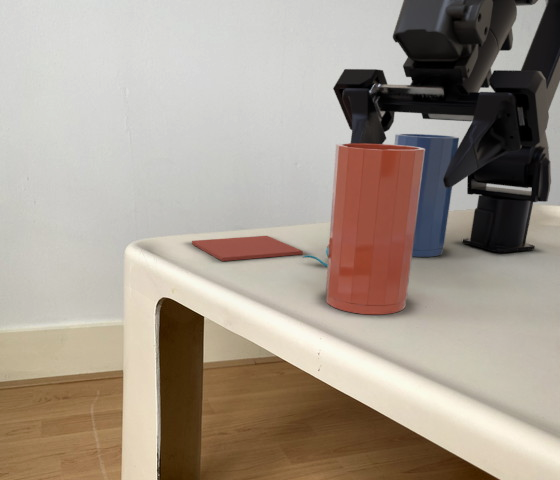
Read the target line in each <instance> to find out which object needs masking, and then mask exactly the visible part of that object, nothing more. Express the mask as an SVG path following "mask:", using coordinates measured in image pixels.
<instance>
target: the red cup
mask: <svg viewBox="0 0 560 480" xmlns="http://www.w3.org/2000/svg"><path fill="white" fill-rule="evenodd" d="M334 152H335V153H334V169H333V180H332V181H333V182H332V183H333V184H332V198H331V213H330V227H329V241H328V242H329V243H328V245H329V253H328V257H327V265H328V267H326V269H327V270H326V283H325V286H326V287H325V292H326V293H325V294H326V295H325V301H326V303H327V304H328V305H329V306H331V307H332V308H335V309H337V310H340V311H344V312H347V313H353V314H360V315H373V316H375V315H387V314H388V315H389V314H394V313H398V312H401V311H403V310H404V309H405V308H406V305H407V297H408V293H409V283H410V276H411V268H412V260H413V257H412V253H413V245H414V237H415V229H416V221H417V213H418V204H419V196H420V188H421V180H422V172H423V164H424V156H425V149H424V148H420V147H413V146H403V145H394V144H391V143H390V144H388V143H383V144H369V143H351V142H349V143H348V142H347V143H345V142H344V143H337V144H335V151H334Z"/></svg>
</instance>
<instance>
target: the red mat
mask: <svg viewBox="0 0 560 480" xmlns="http://www.w3.org/2000/svg"><path fill="white" fill-rule="evenodd" d="M191 245H193V246H195V247H197V248H198V249H200V250H201V251H203V252H205V253H207V254H208V255H210V256H213V257H214V258H216V259H218V261H221V262H229V261H240V260H241V261H242V260H253V259H264V258H278V257H288V256H300V255H303V254H304V251H303V250H301V249H299V248H297V247H295V246H292V245H290V244H287V243H285V242H283V241H280V240H278V239H276V238H274V237H271V236H269V235H257V236H242V237H241V236H240V237H228V238H227V237H226V238H213V239H212V238H211V239H197V240H191Z"/></svg>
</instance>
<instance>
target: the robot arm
mask: <svg viewBox="0 0 560 480" xmlns="http://www.w3.org/2000/svg"><path fill="white" fill-rule="evenodd" d="M544 1H545V7H544V10H543V12H542V15H541V18H540V21H539V23H538V25H537V28H536V30H535V32H534V34H533V35H534V36H533V38H532V40H531V43H530V45H529V48H528V50H527V54H526V56H525V58H524V61H523V63H522V66H521V68H520V70H517V69H516V70H514V69H513V70H511V69H510V70H508V69H504V70H503V69H502V70H501V69H500V70H498V69H497V70H496V69H494V70H493V71H492V66H493V65H494V63H495V61H496V59H497V57H498V55H499V53H500V51H505V52H506V51H507V52H508V51H511V50H512V48H513V43H514V33H513V27H514V25H515V23H516V20H517V16H518V8H517V7H520V6H521V7H522V6H523V7H525V6H533V5H535V4H537V2H539V0H403V1H402V4H401V8H400V11H399V15H398V18H397V21H396V23H395V27H394V30H393V34H392V39H393V41H394V42H395V43H398V45H399V46H400V48H401V49H402V51H403V52H404V54H405V55H406V59H405V61H404V63H403V65H402V68H403V72H404V75H405V77H406V78H410V79H411V83H410V84H388V81H387V78H386V75H385V72H384V70H383V69H376V68H374V69H373V68H345V69H343V71H342V73H341V74H340V76H339V77H338V79H337V81H336V82H335V84H334V86H333V88H332V90H333V92H334V94H335V96H336V99H337V101H338V103H339V106H340V109H341V111H342V113H343V116H344V118H345V120H346V123H347V125H348V127H349V130H351V136H350V143H369V144H384V143H385V141H386V140H387V136H386V132H388V131H390V129H391V127H392V125H393V124H394V122H395V113H404V114H405V113H406V114H409V113H410V114H421V116H422V119H423V120H438V121H439V120H440V121H454V122H457V121H458V122H471V124H470V125H469V127H468V128H467V130H466V133H465V134H464V135H463V138H462V140H461V142H459V144H458V149H457V150H456V152H455V154H454V156H453V158H452V160H451V161H450V163H449V166H448V168H447V171H446V173H445V176H444V178H443V182H444V185H445V187H446V188H451V187H452V188H453V187H454V186H455V185H457V184H458V183H460V182H461V181H462V180H464V179H466V178H467V182H466V183H467V184H466V185H467V186H466V187H467V188H466V189H467V190H466V193H467V195H471V196H472V195H478V198H477V203H476V207H475V209H474V212H473V220H472V225H471V230H470V237H466V238H462V239H461V240H462V241H461V242H462V243H463V244H466V245H469V246H473V247H477V248H479V249H480V248H481V249H483V250H488V251H490V252H495V253H511V252H520V251H522V252H523V251H529V250H535V249H536V245H535V244H531V243H528V242H527V237H528V233H529V232H528V231H529V226H530V222H531V216H532V211H533V206H534V203H538V202H542V203H545V202H548V200H549V197H550V192H551V185H552V175H551V174H552V173H551V160H550V151H549V149H550V148H549V142H548V138H547V137H548V136H547V134H546V133H547V132H546V131H547V129H548V124H549V119H550V113H549V111H550V108H551V106H552V102H553V100H554V98H555V95H556V93H557V90H558V88H559V84H560V0H544ZM489 88H491V90H493V91H480V90H481V89H489ZM488 184H489V185H494V186H487V185H488ZM495 185H496V187H495ZM497 186H505V187H507V186H508V187H515V188H525V189H529V188H531V190H525V189H524V190H523V189H514V188H505V187H497Z"/></svg>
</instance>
